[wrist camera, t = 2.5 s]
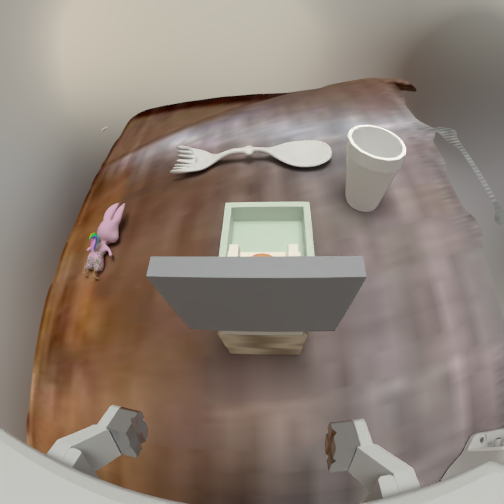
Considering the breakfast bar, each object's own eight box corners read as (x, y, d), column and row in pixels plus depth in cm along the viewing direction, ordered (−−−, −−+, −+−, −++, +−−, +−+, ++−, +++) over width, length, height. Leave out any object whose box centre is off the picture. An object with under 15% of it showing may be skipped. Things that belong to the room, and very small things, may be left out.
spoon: (180, 155, 59) (176, 143, 57) (325, 145, 58) (327, 133, 55) (173, 183, 54) (168, 170, 52) (334, 172, 53) (337, 159, 50)
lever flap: (332, 334, 27) (366, 276, 17) (193, 332, 28) (146, 276, 18) (325, 257, 32) (345, 176, 21) (203, 257, 33) (173, 179, 23)
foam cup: (391, 218, 45) (415, 162, 35) (343, 219, 46) (357, 159, 35) (377, 181, 51) (392, 126, 40) (332, 180, 51) (341, 123, 40)
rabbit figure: (109, 285, 44) (138, 209, 50) (90, 273, 39) (123, 191, 44) (85, 277, 45) (113, 206, 51) (65, 266, 40) (98, 189, 45)
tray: (307, 218, 47) (309, 201, 43) (312, 289, 40) (316, 276, 36) (229, 218, 48) (225, 202, 44) (221, 289, 41) (216, 276, 37)
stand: (298, 291, 40) (304, 258, 32) (300, 354, 35) (307, 335, 27) (235, 291, 40) (225, 258, 33) (230, 353, 36) (217, 334, 28)
